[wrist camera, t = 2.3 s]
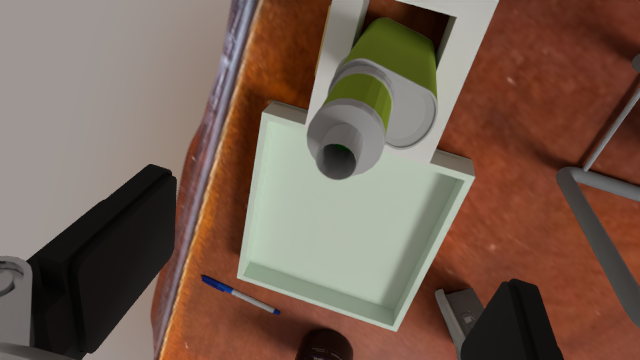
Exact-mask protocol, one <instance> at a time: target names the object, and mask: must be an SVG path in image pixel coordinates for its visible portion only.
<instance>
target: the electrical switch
mask: <svg viewBox="0 0 640 360" xmlns="http://www.w3.org/2000/svg"><path fill="white" fill-rule="evenodd" d="M435 296H436V300H437V302H438V305H439V307H440V310H441V312H442V315H443V318H444V320H445V322H446V324H447V327H448V329H449V333H450V335H451V337H452V340H453V342H454V344H455V347H456V353H457V358H458V360H461V357H460V352H461V347H462V344H463V342H464V340H465V338H466V337H467V335H468V334H469V332H470V331H471V329H472V328H473V326H474V325H475V323H476V322H477V320H478V319H479V317H480V316H481V314H482V312H483V311H484V307H483V305H482V304H481V302H480V300H479V299H478V297H477V295H476V293H475V292H474V290H473V288H472V287H471V288H469V289H466V290H463V291H459V292H454V293H451V294H446V295H445V294H444V292H443V289H439V290H437V291H435ZM467 311H468V312H467Z"/></svg>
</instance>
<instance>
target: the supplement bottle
mask: <svg viewBox="0 0 640 360" xmlns="http://www.w3.org/2000/svg"><path fill="white" fill-rule="evenodd" d="M295 360H353V349H352V347H351V345H350V343H349V342H348V341H347V340H346V339H345V338H344V337H343V336H341V335H340V334H338V333H336V332H333V331H330V330H324V329H318V330H313V331H310V332H308V333H307V334H306V335H305V336H304V337H303V338H302V340H301V343H300V346H299V349H298V352H297V354H296V357H295Z"/></svg>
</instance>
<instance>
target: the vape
mask: <svg viewBox="0 0 640 360" xmlns="http://www.w3.org/2000/svg"><path fill="white" fill-rule="evenodd" d="M437 114H438V101H437V82H436V63H435V48H434V44H433V42H432V41H431V40H430V39H429V38H427V37H425V36H424V35H422V34H420V33H418V32H416V31H414V30H412V29H410V28H408V27H406V26H404V25H402V24H400V23H398V22H396V21H394V20H392V19H390V18H387V17H382V18H378V19H376V20H375V21H373V22H372V23H371V24H370V25H369V26H368V27H367V29H366V30H365V32H364V33H363V34H362V36H361V37H360V39H359V40H358V42H357V43H356V45H355V46H354V48H353V49H352V50H351V52H350V53H349V55H348V56H347V57H345V58H344V59H343V60H342V61H341V62H340V63H339V65H338V67H337V69H336V71H335V74H334V77H333V79H332V81H331V83H330V86H329V89H328V95H327V99H326V100H325V102H324V103H323V105H322V106H321V108H320V109H319V110H318V111H317V113H316V114H315V116H314V117H313V119H312V120H311V122H310V124H309V127H308V131H307V135H306V136H307V146H308V148H309V151H310V153H311V155H312V157H313V158H314V159H315V161H316V166H317V168H318V170H319V171H320V172H321V173H322V174H323V175H324V176H326V177H327V178H329V179H332V180H344V179H347V178H349V177H351V176H354V175H358V174H362V173H364V172H366V171H368V170H369V169H371V168H373V166H374V165H375V164H376V163H377V162H378V161H379V159H380V157H381V154H382V152H383V149H384V145H387V146H389V147H391V148H393V149H396V150H405V149H409V148H412V147H414V146H416V145H418V144H419V143H420V142H422V141H423V140H424V139H425V138H426V137H427V136H428V134H429V133H430V132H431V130H432V129H433V127H434V125H435V122H436V119H437Z"/></svg>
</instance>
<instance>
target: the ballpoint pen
mask: <svg viewBox="0 0 640 360" xmlns="http://www.w3.org/2000/svg"><path fill="white" fill-rule="evenodd" d="M202 281H203V282H205V283H206V284H208V285H210V286H212V287H214V288H216V289H218V290H220V291H222V292H224V291H226V292H228V293H231V294H233V295H235V296H237V297H239V298H242V299H244V300H246V301H248V302H250V303H252V304H254V305H256V306H258V307H261V308H263V309H265V310H267V311H269V312H271V313H274V314H277V315H279V314H280V312H279V311H278V310H277V309H275V308H273V307H271V306H269V305H267V304H264V303H262V302H260V301H258V300H256V299H254V298H252V297H250V296H248V295H245V294H243V293H241V292H239V291H237V290H235V289H233V288H231V287H229V286H227V285H225V284H223V283H221V282H219V281H217V280H215V279H213V278H210V277H208V276H205V275H203V276H202ZM217 287H218V288H217Z"/></svg>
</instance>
